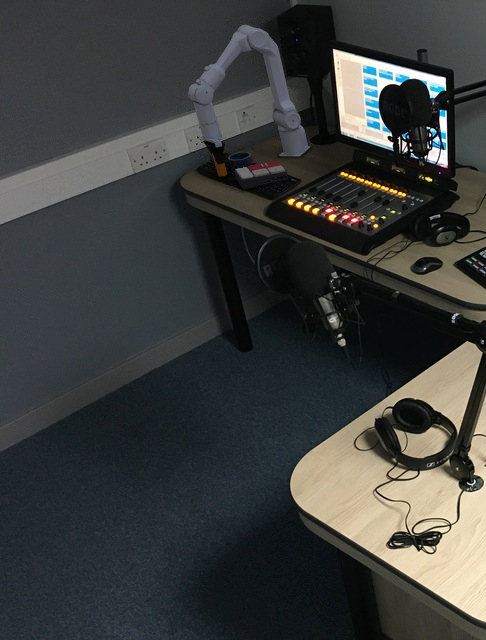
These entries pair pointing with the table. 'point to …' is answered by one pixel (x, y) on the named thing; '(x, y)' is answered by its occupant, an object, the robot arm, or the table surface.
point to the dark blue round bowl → (240, 159)
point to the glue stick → (220, 168)
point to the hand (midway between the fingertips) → (219, 162)
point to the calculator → (259, 174)
